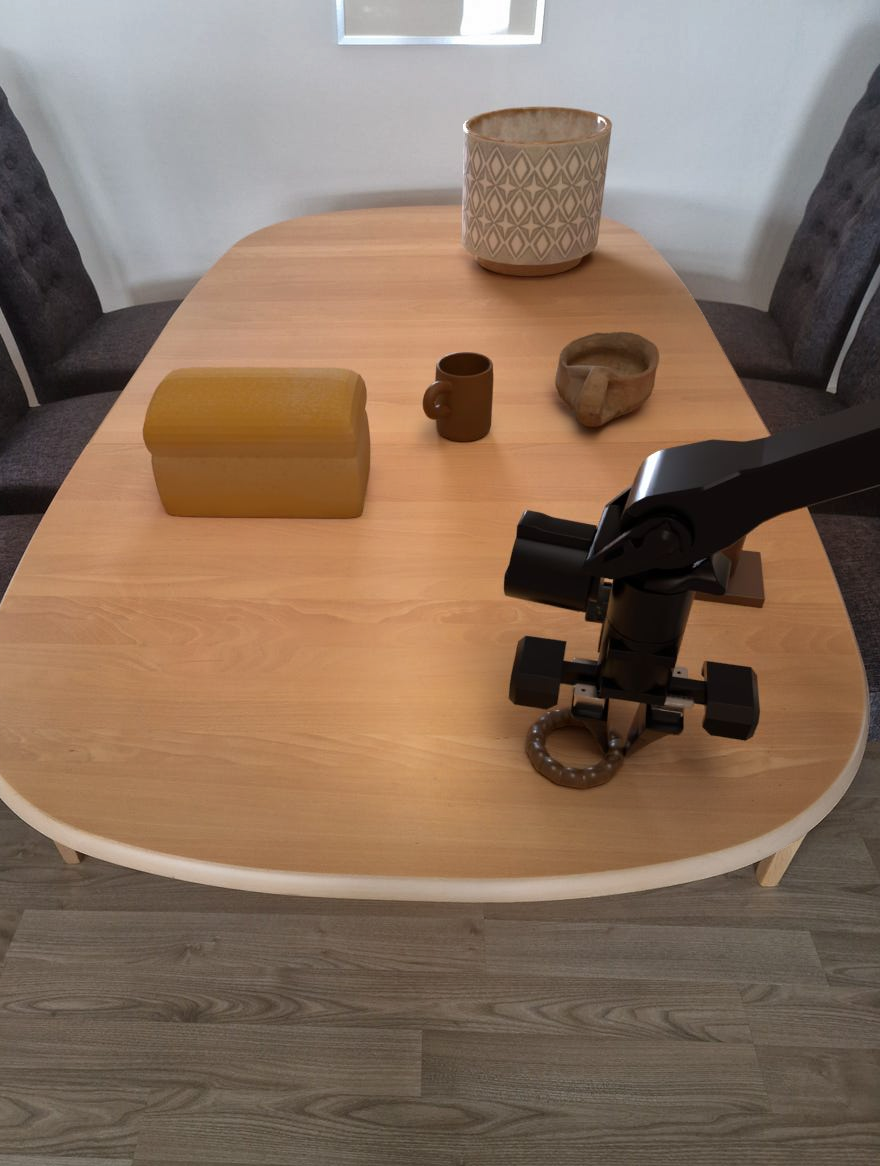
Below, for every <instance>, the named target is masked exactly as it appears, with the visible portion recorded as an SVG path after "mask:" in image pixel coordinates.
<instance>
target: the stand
mask: <svg viewBox="0 0 880 1166" xmlns="http://www.w3.org/2000/svg"><path fill="white" fill-rule="evenodd" d="M747 535H748V534H747ZM747 535H746V536H745V537H743V538H742V539H741V540H739V541H738V542H737V543H735V544H734V545H733V546H731V547H729V548H727V549H725V550H723V551H721V553H723V554H724V555H725V556H726V557H727V558H728V559H729V560H730V561H731V568H730V573H729V579H728V585H727V591H726V594H725V595H723V596H715V595H711V594H706V593H701V592H696V593H695V596H694V600H699V601H705V602H706V601H707V602H714V603H720V604H721V603H723V604H730V605H737V606H745V607H746V606H747V607H753V608H760V609H762V608H763V607H764V603H765V600H766V594H765V584H764V575H763V563H762V555H761V552H760V551H753V550H745V549H743V548H744V545H745V541H746V539H747Z"/></svg>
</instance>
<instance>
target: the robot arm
mask: <svg viewBox="0 0 880 1166" xmlns="http://www.w3.org/2000/svg"><path fill="white" fill-rule="evenodd" d="M878 487H880V397H877V398H875V399H871V400H868V401H866V402H863V403H860V404H857V405H854V406H852V407H849V408H846V409H843V410H840V411H837V412H835V413H832V414H828V415H825V416H823V417H820V418H817V419H815V420H812V421H809V422H806V423H803V424H800V425H796V426H794V427H792V428H789V429H786V430H783V431H780V432H777V433H775V434H772V435H768V436H765V437H761V438H755V439H750V440H745V441H740V440H729V439H728V440H727V439H726V440H725V439H708V440H707V439H706V440H702V441H697V442H692V443H687V444H682V445H677V446H672V447H667V448H664V449H663V448H662V449H660V450H658V451H656V452H654V453H653V454H651V455H649V456H647V458H645V459H644V460H643V461H642V462H641V465H640V466H639V468H638V470H637V472H636V474H635V476H634V479H633V481H632V483H631V484H630V485H628V487H626V488H625V489H623V491H622V492H620V493H619V494H618V495H616V496H615V497H614V498H612V499H611V500H610V501H608V502H607V503H606V504H605V505H604V507H603V511H602V513H601V516H600V518H599V521H598V524H597V525H596V524H592V523H585V522H581V521H576V520H570V519H565V518H561V517H560V518H559V517H554V516H551V515H548V514H546V513H545V512H540V511H536V510H535V511H534V510H529V509H525V510H524V511H523V513H522V515H521V517H520V519H519V521H518V523H517V524H516V532H515V533H516V534H515V539H514V543H513V545H512V550H511V554H510V558H509V562H508V565H507V568H506V570H505V572H504V576H503V577H504V578H503V594H504V596H505V597H509V598H512V599H513V598H514V599H518V600H522V601H527V602H531V603H534V604H535V603H536V604H540V605H543V606H544V605H545V606H548V607H555V608H559V609H563V610H568V611H572V612H577V613H583V614H584V621H585V622H588V623H595V624H596V623H597V624H601V627H600V633H599V638H598V645H597V653H598V657H597V660H595V659H588V658H581V657H574V658H573V659H572V661H569V660H565V656H566V650H567V649H566V648H567V642H568V641H567V640H561V639H553V638H545V637H539V636H532V635H524V636H523V637H522V638H520V639H518V640H517V644H516V648H515V649H516V650H515V654H514V660H513V664H512V669H511V674H510V680H509V688H508V689H509V690H508V700H510V702H511V703H512V705H514V706H521V707H526V708H533V709H539V710H549V709H551V708H554V707H555V706H557V705H558V703H559V696H560V689H561V685H566V686H567V685H568V686H572V688H571V693H572V695H571V696H572V698H571V705H570V707H571V711H570V715H571V717H572V718H573V719H575V720H580V721H583V722H584V724H585V725H586V726H587V727H588V728H587V729H588V730H589V731H590V733H591V734H592V735H593V738H594V739H595V741H596V743H597V745H598V748H599V749H600V751H601V753H602V754H605V755H606V754H607V752H608V749H609V741H610V721H611V716H612V715H611V713H612V712H611V710H612V709H611V707H612V705H611V703H612V699H613V700H618V701H624V702H625V701H626V702H631V703H639V704H638V707H637V708H636V711H635V714H634V716H633V719H632V722H631V724H630V727H629V729H628V731H627V734H626V738H625V749H624V757H625V758H630V757H632V756H633V755H635V754H636V753H637V752H639V751H640V750H643V748H645V747H647V746H648V745H650V744H652V743H654V742H656V741H659V740H660V739H663V738H665V737H667V736H680V735H681V734H682V733H683V731H684V729H685V714H684V713H685V710H691V709H694V705H700V706H704V714H703V717H702V720H701V727H702V729H703V730H704V731H705V732H706V733H707V734H708V735H709V736H712V737H719V738H723V739H731V740H737V741H745V742H746V741H748V740H750V739H751V738H753V737H754V735H755V732H756V730H757V728H758V725H759V722H760V717H761V706H760V694H759V693H760V691H759V683H758V674H757V673H756V671H755V670H754V669H753V667H752V666H746V665H741V664H740V665H739V664H732V663H725V662H720V661H719V662H718V661H710V660H703V663H702V666H701V669H700V675H701V677H702V678H703V680H701V679H693V678H689V669H688V668H687V667H685V666H679V665H677V661H678V658H679V654H680V650H681V647H682V642H683V639H684V635H685V632H686V629H687V625H688V622H689V617H690V614H691V610H692V606H693V604H694V601H695V599H694V596H695V593H696V592H701V593H706V594H711V595H715V596H723V595H725V594H726V591H727V585H728V579H729V573H730V568H731V561H730V560H729V559H728V558H727V557H726V556H725V555H724V554H723V553H721V551H723V550H725V549H727V548H729V547H731V546H733V545H734V544H735V543H737V542H738V541H739V540H741V539H742V538H743V537H745V536H746V535H749V534H750V533H752V532H754V530H755V529H757V528H758V527H759V526H761V525H762V524H763V523H766V522H768V521H770V520H773V519H775V518H777V517H780V516H782V515H784V514H789V513H790V512H791V513H792V512H794V511H798V510H801V509H805V508H808V507H812V506H816V505H818V504H822V503H826V502H829V501H832V500H836V499H839V498H843V497H846V496H850V495H853V494H856V493H857V494H858V493H860V492H863V491H868V490H870V489H874V488H878ZM746 537H747V536H746ZM605 579H607V580H612V582H611V581H605Z"/></svg>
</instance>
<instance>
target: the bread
mask: <svg viewBox="0 0 880 1166" xmlns="http://www.w3.org/2000/svg"><path fill="white" fill-rule="evenodd" d="M367 398H368V393H367V386H366V382H365V379H363V377H362V375H361V374H360V373H359V372H356V371H355V370H352V369H348V368H343V367H332V366H331V367H326V366H323V367H322V366H320V367H319V366H318V367H317V366H270V367H269V366H238V367H237V366H204V367H203V366H201V367H200V366H199V367H196V366H195V367H194V366H193V367H182V368H177V369H173V370H171V371H170V372H169V373H168V374H167V375H165V377H163V379H162V380H161V381H160V382H159V384H158V385H157V386H156V388H155V390H154V391H153V394H152V396H151V399H150V401H149V403H148V406H147V408H146V412H145V417H144V422H143V427H142V438H143V443H144V446H145V448H146V449H147V451H148V452H149V454H151V458H150V459H151V461H150V462H151V468H152V473H153V478H154V482H155V486H156V490H157V493H158V496H159V499H160V502H161V504H162V506H163V507H164V509H165V511H166V514H168V515H169V516H175V517H192V518H193V517H194V518H195V517H199V518H201V517H203V518H204V517H205V518H216V517H217V518H270V519H271V518H275V519H276V518H277V519H278V518H279V519H281V518H282V519H283V518H284V519H288V518H289V519H353V518H358V517H360V516H362V513H363V510H364V504H365V498H366V493H367V487H368V481H369V475H370V470H371V434H370V425H369V423H370V422H369V417H368V413H367V409H366V408H367V407H366V405H367Z"/></svg>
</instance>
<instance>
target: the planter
mask: <svg viewBox="0 0 880 1166" xmlns="http://www.w3.org/2000/svg"><path fill="white" fill-rule="evenodd" d="M612 128H613V122H612V121H611V120H610V119H609V118H608V117H607V116H605V115H603V114H601V113H597V112H594V111H590V110H585V109H580V108H573V107H562V106H520V107H519V106H518V107H509V108H508V107H507V108H501V109H495V110H490V111H487V112H482V113H480V114H476V115H473V116H472V117H470V118H469V119H468V120H466V121H465V122H464V124H463V148H462V149H463V151H462V152H463V154H462V155H463V157H462V159H463V160H462V213H461V215H462V216H461V217H462V218H461V219H462V221H461V245H462V246H463V248H464V249H465V251H466V252H468V253H470V254H471V255H472V256H474V259H475V262H476V263H477V264H478V265H479V266H481V268H484V269H486V270H489V271H490V272H493V273H497V274H502V275H508V276H515V277H544V276H552V275H556V274H560V273H564V272H567V271H569V270H572V269H573V268H575V267H577V266H578V265H579V264H580V263H581V261H582V259H583V257H585V256H587V255H588V254H590V253H592V252H593V251H594V250H595V249H596V247H597V246H598V242H599V234H600V225H601V218H602V209H603V200H604V194H605V193H604V192H605V185H606V184H605V182H606V177H607V169H608V161H609V152H610V145H611V144H610V143H611V135H612Z"/></svg>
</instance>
